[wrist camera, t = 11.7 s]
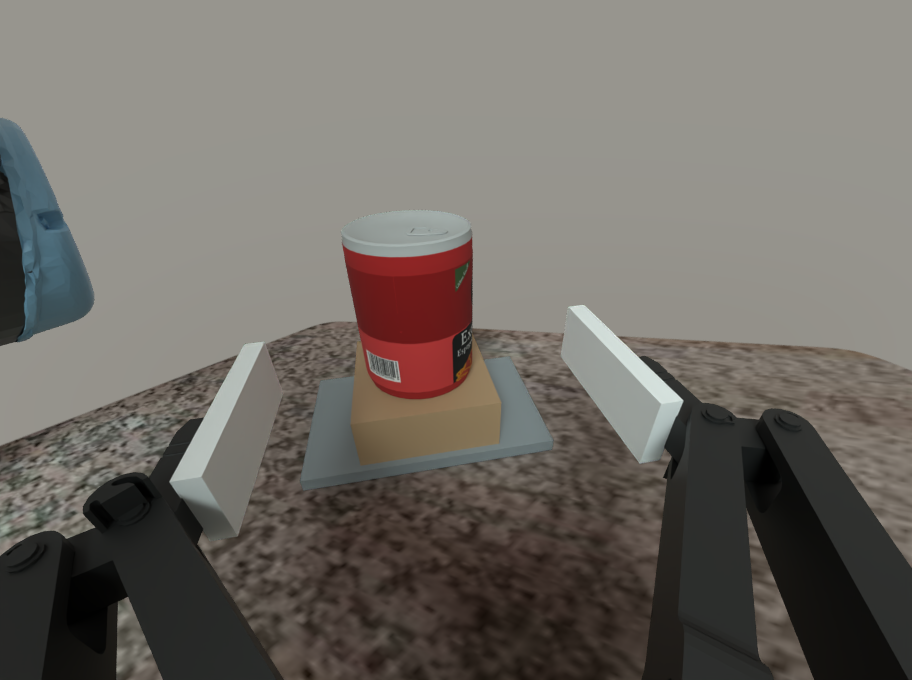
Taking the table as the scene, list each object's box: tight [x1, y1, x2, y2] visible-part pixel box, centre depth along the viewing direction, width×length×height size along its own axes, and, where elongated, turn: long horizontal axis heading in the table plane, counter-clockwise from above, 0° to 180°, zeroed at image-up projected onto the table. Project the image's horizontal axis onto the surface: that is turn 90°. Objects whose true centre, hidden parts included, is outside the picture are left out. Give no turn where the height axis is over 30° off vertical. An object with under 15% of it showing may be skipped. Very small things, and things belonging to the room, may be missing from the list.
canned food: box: [341, 210, 473, 399], centre depth 26 cm, size 8×8×11 cm
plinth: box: [300, 333, 554, 491], centre depth 30 cm, size 18×11×5 cm, turn 100°
